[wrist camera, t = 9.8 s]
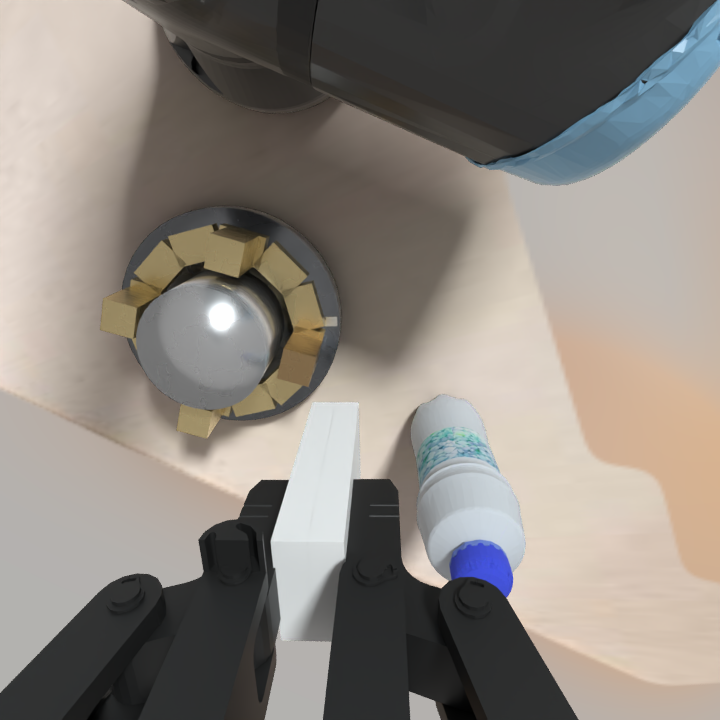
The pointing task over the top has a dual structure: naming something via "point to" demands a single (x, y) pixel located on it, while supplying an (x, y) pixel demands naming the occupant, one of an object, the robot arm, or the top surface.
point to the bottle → (464, 496)
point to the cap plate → (291, 247)
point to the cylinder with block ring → (235, 257)
